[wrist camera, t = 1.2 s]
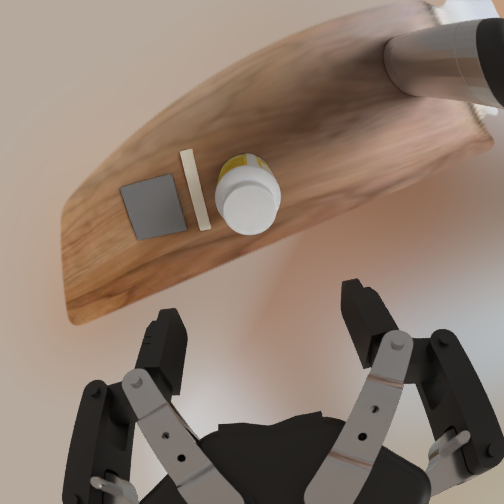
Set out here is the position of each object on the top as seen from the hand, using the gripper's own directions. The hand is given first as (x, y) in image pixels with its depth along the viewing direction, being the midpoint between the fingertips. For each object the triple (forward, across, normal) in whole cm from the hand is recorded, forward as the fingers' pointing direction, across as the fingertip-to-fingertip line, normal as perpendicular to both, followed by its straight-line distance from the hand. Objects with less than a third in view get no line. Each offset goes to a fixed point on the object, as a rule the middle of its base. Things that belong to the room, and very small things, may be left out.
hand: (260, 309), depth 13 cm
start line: (+24, +6, 0) cm, 25 cm away
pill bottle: (+24, 0, 0) cm, 24 cm away
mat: (+24, +13, +2) cm, 27 cm away
